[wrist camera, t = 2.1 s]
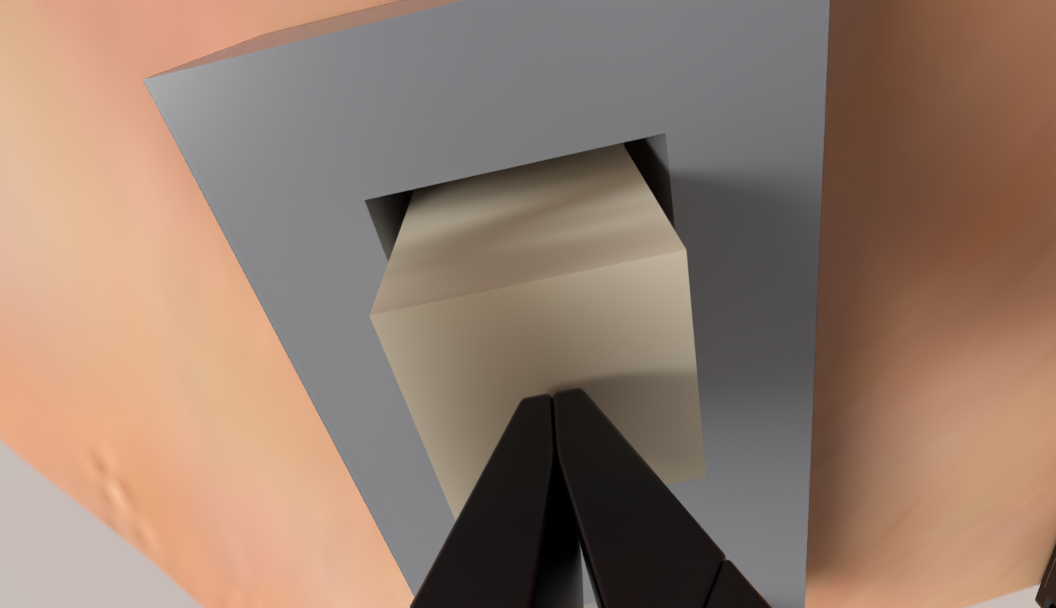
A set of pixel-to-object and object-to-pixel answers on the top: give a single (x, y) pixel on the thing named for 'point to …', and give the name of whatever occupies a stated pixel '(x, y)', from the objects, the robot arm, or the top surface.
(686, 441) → the birch peg
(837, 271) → the top surface
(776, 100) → the collar block
